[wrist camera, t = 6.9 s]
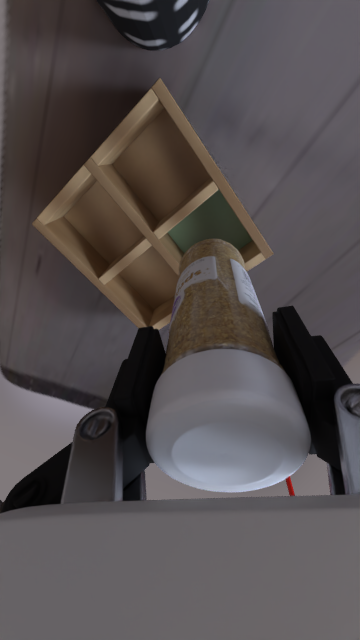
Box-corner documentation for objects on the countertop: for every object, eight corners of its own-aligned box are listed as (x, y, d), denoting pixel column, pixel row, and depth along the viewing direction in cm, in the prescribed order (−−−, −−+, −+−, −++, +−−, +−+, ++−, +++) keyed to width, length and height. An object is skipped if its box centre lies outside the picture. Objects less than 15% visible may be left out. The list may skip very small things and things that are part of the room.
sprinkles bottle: (177, 237, 18) (132, 394, 6) (248, 236, 17) (338, 402, 6) (179, 299, 20) (149, 495, 9) (242, 300, 20) (296, 504, 8)
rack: (167, 90, 21) (159, 77, 18) (263, 239, 27) (273, 253, 23) (55, 213, 27) (31, 223, 23) (154, 315, 33) (147, 337, 29)
